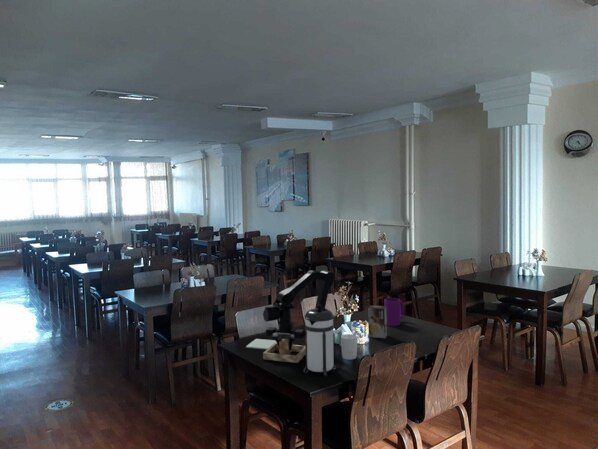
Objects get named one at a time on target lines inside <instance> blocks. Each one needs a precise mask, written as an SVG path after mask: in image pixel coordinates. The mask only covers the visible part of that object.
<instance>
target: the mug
mask: <svg viewBox="0 0 598 449" xmlns="http://www.w3.org/2000/svg"><path fill="white" fill-rule="evenodd" d="M383 302H384V303H383V304H384V305H383V306H386V307H387V327H399V326H400V325H401V320H402V319H403V317H404V314H405V307H404V303H403V301H402V300H401V299H400V298H396V297H386V298H384V300H383Z"/></svg>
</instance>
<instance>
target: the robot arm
mask: <svg viewBox="0 0 598 449" xmlns="http://www.w3.org/2000/svg"><path fill="white" fill-rule="evenodd" d="M335 279H336V276H335V274H334V273H333V272H332V271H328V270H325V269H324V270H321V271H316V270H312V269H311V270H310V269H309V270H308V271H307V272H306V273H305V274H304V275H303V276H302V277H301V278H300V279H298V280H297V281H296V282H295V283H293V285H291V286H289V287H288V288H285V289H283V290H281V291H280V292H279V293H278V294H276V299H275V300H274V302H273V303H272V305H271V306H264V310H263V313H262V316H263V320H264V321H265V322H272V321H278V324H279V326H278V327H274V326H270V327H268V328H267V329H266V330H265V331H264V332H265V333H264V335H265V336H267V337H271V338H272V339H274V340H275V341H276V342H277V344H278V346H279V342H280V341H281V340H282V336H283V335H285V336H286V335H287V336H289V338H288V339H289V350H290V351H291V349H292V346H293V345H294V342H295V341H296V339H303V338H305V337H306V336H305V331H306V330H305V329H296V330H295V328H296V327H295V326H296V322H293V319H292V312H291V310H293V309H295V308H296V307H295V306H294V305H293V302H294V300H295V299H296V297H297V295H298V294H299V293H300V292H301V291H303V290H304V289H305V288H306V287H308V285H310V284H311V283H312V282H313V281H315V280H317V283H318V288H319V289H318V293H317V298H316V301H315V306H314V309H315V308H317V307H316V306H317V304H321V306H322V307H321V308H324V309H326V305H327V300H328V294H329V291H330V289H331V288H332V286H333V285H334V281H335ZM294 330H295V331H294Z"/></svg>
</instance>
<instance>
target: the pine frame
mask: <svg viewBox="0 0 598 449" xmlns="http://www.w3.org/2000/svg"><path fill="white" fill-rule="evenodd" d="M276 351H279V346H278V344H277V343H274V344H273V345H272V346H271V347H269V348H268V349H267V350H266V349H265V351H263V352H262V359H263V360H265V361H276V362H277V361H278V362H284V363H285V362H287V363H295V364H298V363H300V361H301V360H302V359H303V357H304V356H306V345H299V344H293V346H292V352H295V353H297V354H296V355H294V354H289V355H286V354H279V353H275V352H276Z"/></svg>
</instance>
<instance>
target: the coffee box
mask: <svg viewBox="0 0 598 449" xmlns="http://www.w3.org/2000/svg"><path fill="white" fill-rule="evenodd" d="M367 310H368V312H367V315H368V319H367V321H368V337H369V338H377V339H378V338H379V339H386V338H387V337H388V326H387V307H386V306H384V305H369V307H368V309H367Z"/></svg>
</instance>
